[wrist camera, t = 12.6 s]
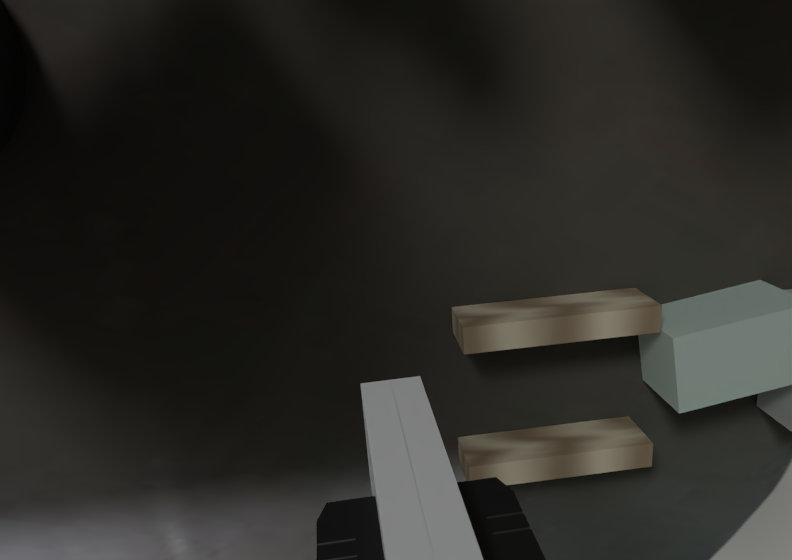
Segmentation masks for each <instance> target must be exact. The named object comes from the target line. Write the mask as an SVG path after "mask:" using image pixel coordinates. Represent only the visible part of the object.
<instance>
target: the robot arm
mask: <svg viewBox="0 0 792 560" xmlns="http://www.w3.org/2000/svg"><path fill="white" fill-rule="evenodd" d="M24 91H25V72H24V63H23V57H22V52H21V48H20V45H19V41H18V38H17V35H16V32H15V30H14V27H13V25H12V23H11V21H10V18H9V17H8V15H7V13H6V11H5V9H4V7H3V6H2V4H1V2H0V151H1V150H2V148H3V147H4V146H5V144H6V143H7V142H8V140H9V139H10V137H11V135H12V133H13V131H14V129H15V127H16V125H17V122H18V120H19V117H20V114H21V110H22V106H23V100H24ZM360 385H361V395H362V404H363V414H364V424H365V434H366V444H367V453H368V463H369V473H370V481H371V488H372V496H371V497H364V498H357V499H350V500H343V501H336V502H329V503H326V505H325V507H324V509H323V511H322V513H321V515H320V517H319V518H318V520H317V560H546V559H545V557H544V555H543V553H542V551H541V549H540V547H539V545H538V542H537V540H536V538H535V536H534V534H533V532H532V530H530V526H529V523H528V521H527V519H526V517H525V515H524V514H523V512H522V509H521V507H520V504H519V502H518V500H517V498H516V496H515V494H514V492H513V491H512V490H511V489H510V488H509V487H507V486H506V485H505V484H504V483H503V482H501V481H500V480H499V479H498V478H497V477H493V478H486V479H479V480H472V481H465V482H456V479H455V476H454V473H453V470H452V467H451V464H450V461H449V459H448V456H447V453H446V450H445V447H444V444H443V441H442V438H441V435H440V432H439V430H438V427H437V424H436V421H435V418H434V415H433V412H432V409H431V406H430V404H429V401H428V398H427V395H426V392H425V389H424V386H423V383H422V380H421V378H420V376H417V377H409V378H401V379H393V380H384V381H376V382H368V383H360Z"/></svg>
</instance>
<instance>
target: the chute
mask: <svg viewBox="0 0 792 560" xmlns="http://www.w3.org/2000/svg"><path fill="white" fill-rule="evenodd" d="M661 317H662V305H661V304H659V303H657V302H656V301H654V300H653V299H651V298H650V297H648V296H647V295H645V294H644V293H642V292H641V291H639V290H638V289H636V288H626V289H617V290H607V291H598V292H589V293H579V294H570V295H561V296H551V297H542V298H532V299H523V300H514V301H504V302H495V303H486V304H476V305H467V306H457V307H452V326H453V334H454V336H455V338H456V340H457V342H458V344H459V345H460V347H461V349H462V351H463V353H464V354H473V353H482V352H491V351H500V350H509V349H517V348H526V347H535V346H544V345H553V344H562V343H571V342H579V341H588V340H597V339H606V338H615V337H624V336H633V335H641V334H650V333H659V332H661ZM458 450H459V461H460V463H461V466H462V469H463V472H464V475H465V478H466V481H472V480H479V479H486V478H493V477H497V478H498V479H499V480H500V481H501V482H503V483H504V484H505V485H514V484H521V483H529V482H537V481H544V480H552V479H560V478H567V477H575V476H583V475H590V474H598V473H606V472H613V471H621V470H629V469H636V468H644V467H652V455H653V443H652V442H651V441H650V439H649V438H648V437H647V436H646V435H645V434H644V433H643V432H642V431H641V430H640V428H639V427H638V426H637V425H636V424H635V423H634V422H633V421H632V420H631V419H630V417H629V416H626V417H617V418H609V419H601V420H593V421H585V422H577V423H569V424H561V425H553V426H545V427H536V428H528V429H520V430H512V431H504V432H496V433H488V434H480V435H472V436H463V437H458Z"/></svg>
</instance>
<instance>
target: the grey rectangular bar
mask: <svg viewBox="0 0 792 560" xmlns="http://www.w3.org/2000/svg"><path fill="white" fill-rule="evenodd" d="M784 291H786V292H789V293H791V294H792V289H787V290H784ZM756 406H758V407H759V408H760V409H762V410H763V411H764V412H766V413H767V414H768V415H770V416H771V417H772V418H774V419H775V420H776V421H778V422H779V423H780V424H782V425H783V426H784V427H786V428H787V429H788V430H790V431H791V432H792V385H789V386H785V387H781V388H777V389H773V390H769V391H765V392H762V393H758V397H757V405H756Z"/></svg>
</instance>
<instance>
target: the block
mask: <svg viewBox="0 0 792 560" xmlns="http://www.w3.org/2000/svg"><path fill="white" fill-rule="evenodd" d="M638 339H639V348H640V358H641V368H642V377H643V380H644V381H645V382H646V383H647V384H648V385H649V386H650V387H651V388H652V389H653V390H654V391H655V392H656V393H658V394H659V395H660V396H661V397H662V398H663V399H664V400H665V401H666V402H667V403H668V404H669V405H670V406H672V407H673V408H674V409H675V410H676V411H677V412H678V413H679V414H680V413H684V412H688V411H692V410H696V409H700V408H703V407H707V406H711V405H715V404H719V403H723V402H727V401H731V400H734V399H738V398H742V397H746V396H750V395H754V394H758V393H762V392H765V391H769V390H773V389H777V388H781V387H785V386H789V385H792V294H791V293H789V292H786V291H784V290H782V289H780V288H777V287H775V286H773V285H771V284H768V283H766V282H764V281H762V280H758V281H754V282H750V283H746V284H742V285H738V286H734V287H730V288H726V289H722V290H718V291H714V292H710V293H706V294H702V295H698V296H694V297H690V298H686V299H682V300H678V301H674V302H670V303H666V304H662V317H661V332H659V333H650V334H641V335H638Z"/></svg>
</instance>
